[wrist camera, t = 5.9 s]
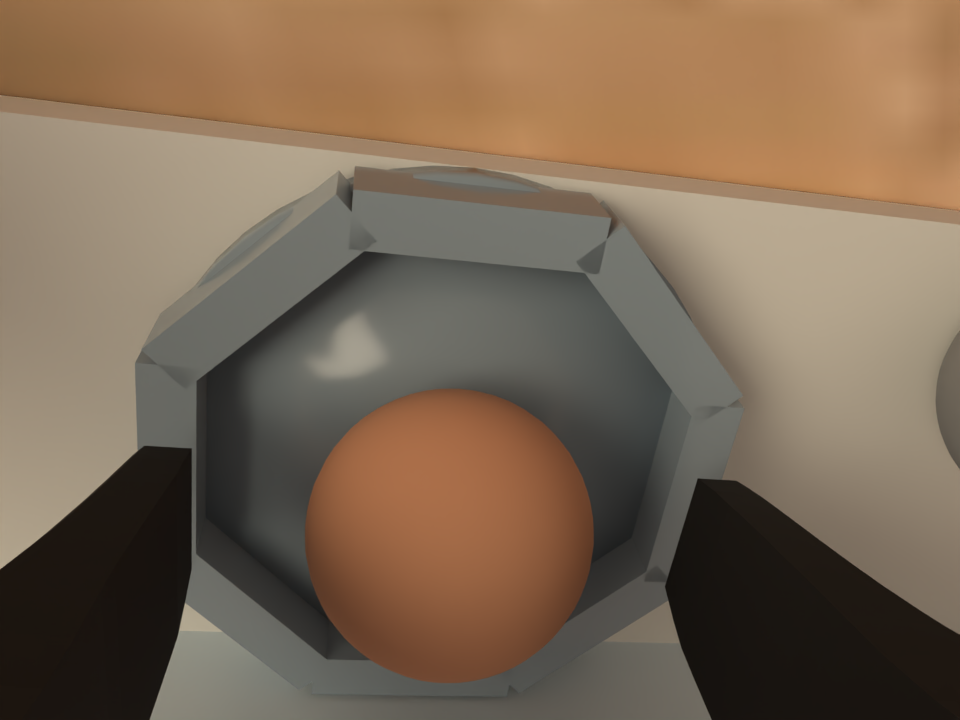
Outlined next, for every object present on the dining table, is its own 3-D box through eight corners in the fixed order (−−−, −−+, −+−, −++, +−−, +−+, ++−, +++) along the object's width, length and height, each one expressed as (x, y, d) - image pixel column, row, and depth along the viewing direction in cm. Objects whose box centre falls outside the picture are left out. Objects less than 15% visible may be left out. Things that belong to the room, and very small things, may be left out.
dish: (633, 642, 17) (655, 702, 16) (158, 630, 16) (138, 696, 14) (763, 201, 13) (807, 232, 12) (147, 129, 12) (119, 155, 10)
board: (849, 872, 23) (868, 909, 22) (-81, 893, 19) (-103, 939, 19) (1179, 237, 16) (1228, 256, 15) (-262, 62, 12) (-313, 75, 11)
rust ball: (541, 556, 15) (593, 751, 11) (308, 548, 14) (287, 751, 11) (582, 350, 13) (659, 504, 10) (320, 331, 13) (299, 489, 9)
